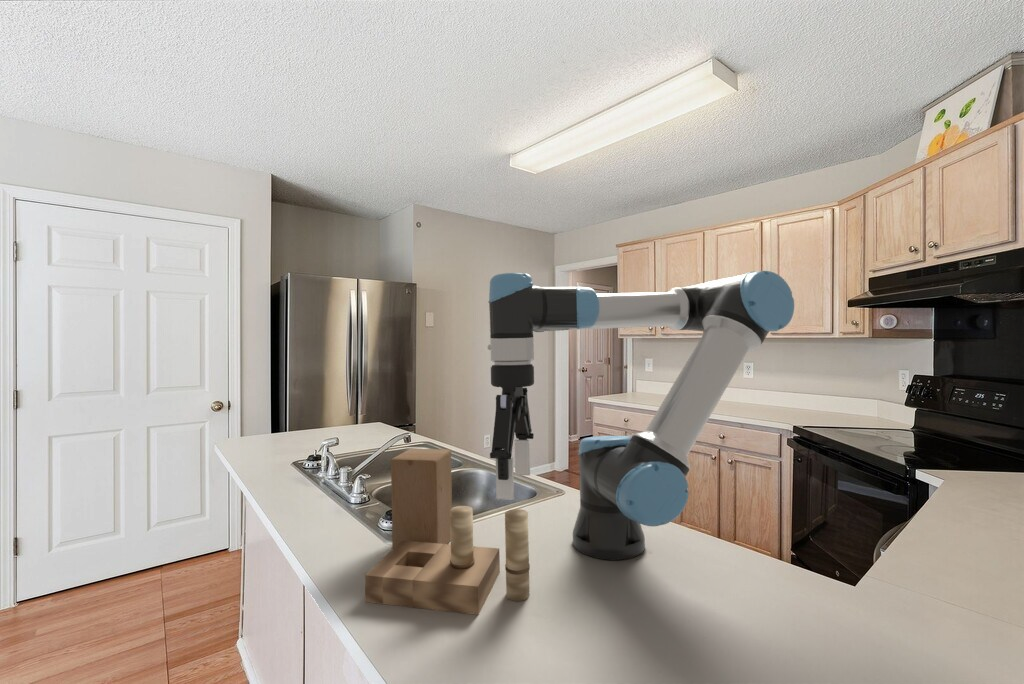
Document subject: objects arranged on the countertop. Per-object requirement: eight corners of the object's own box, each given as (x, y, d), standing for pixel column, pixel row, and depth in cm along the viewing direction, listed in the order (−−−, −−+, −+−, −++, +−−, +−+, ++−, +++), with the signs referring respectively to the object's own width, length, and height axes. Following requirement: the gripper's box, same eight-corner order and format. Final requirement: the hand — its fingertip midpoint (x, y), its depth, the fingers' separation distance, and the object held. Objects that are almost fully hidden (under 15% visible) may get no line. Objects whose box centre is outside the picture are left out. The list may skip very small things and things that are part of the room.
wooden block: (437, 558, 93) (435, 460, 93) (391, 555, 95) (390, 458, 95) (453, 538, 103) (451, 449, 103) (411, 535, 105) (410, 448, 105)
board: (499, 572, 87) (498, 498, 87) (478, 614, 73) (476, 527, 73) (402, 563, 91) (401, 492, 91) (365, 601, 77) (364, 519, 78)
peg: (532, 589, 80) (530, 509, 80) (527, 602, 76) (526, 518, 76) (508, 587, 81) (507, 508, 81) (503, 600, 77) (501, 517, 77)
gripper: (508, 360, 92) (510, 466, 92) (468, 367, 68) (471, 509, 68) (544, 360, 91) (547, 467, 90) (517, 366, 66) (520, 513, 66)
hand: (514, 486), depth 79 cm, fingers open, 13 cm apart
